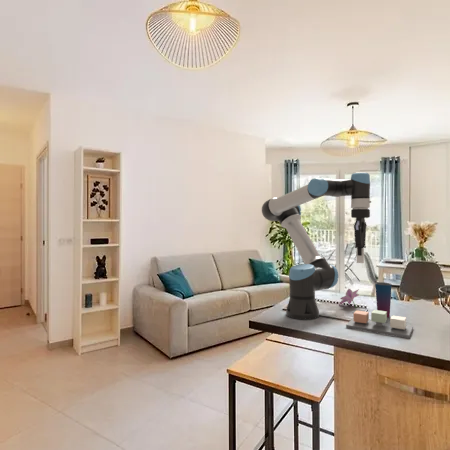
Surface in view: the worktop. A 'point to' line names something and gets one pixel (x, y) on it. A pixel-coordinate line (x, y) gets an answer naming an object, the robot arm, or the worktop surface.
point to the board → (380, 328)
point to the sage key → (379, 316)
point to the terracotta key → (361, 316)
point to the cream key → (398, 322)
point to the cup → (383, 296)
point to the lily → (349, 296)
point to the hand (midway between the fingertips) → (360, 262)
